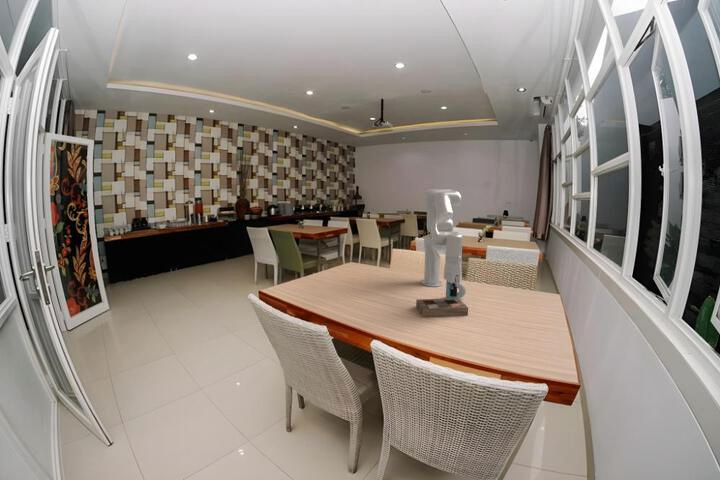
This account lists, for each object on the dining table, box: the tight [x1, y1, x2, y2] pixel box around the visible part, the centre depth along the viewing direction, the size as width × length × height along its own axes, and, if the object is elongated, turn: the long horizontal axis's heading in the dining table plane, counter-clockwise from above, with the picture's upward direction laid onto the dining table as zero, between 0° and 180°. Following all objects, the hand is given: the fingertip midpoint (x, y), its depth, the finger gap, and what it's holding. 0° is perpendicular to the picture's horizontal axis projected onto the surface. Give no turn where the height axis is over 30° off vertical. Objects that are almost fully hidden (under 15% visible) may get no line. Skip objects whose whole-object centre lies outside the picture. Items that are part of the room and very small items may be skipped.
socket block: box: [415, 298, 469, 318], centre depth 142 cm, size 12×22×4 cm, turn 95°
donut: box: [454, 281, 467, 300], centre depth 157 cm, size 10×4×10 cm, turn 69°
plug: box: [445, 281, 457, 300], centre depth 142 cm, size 4×4×8 cm
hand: (451, 294), depth 143 cm, fingers closed on plug, 4 cm apart
